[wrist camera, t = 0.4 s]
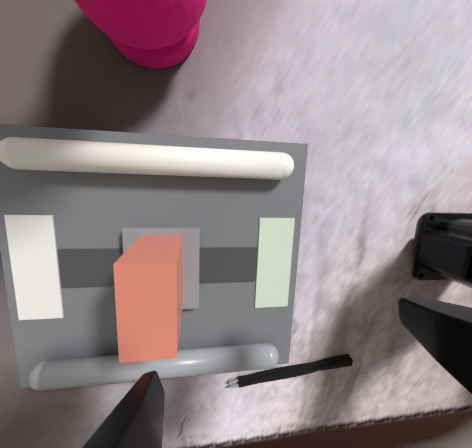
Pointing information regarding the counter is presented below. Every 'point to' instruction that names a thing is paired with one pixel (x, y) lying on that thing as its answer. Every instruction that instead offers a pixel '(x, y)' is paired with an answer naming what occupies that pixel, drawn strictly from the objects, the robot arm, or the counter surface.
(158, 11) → the pepper mill
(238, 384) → the black thin rod
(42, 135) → the box
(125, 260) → the lever
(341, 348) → the counter surface
